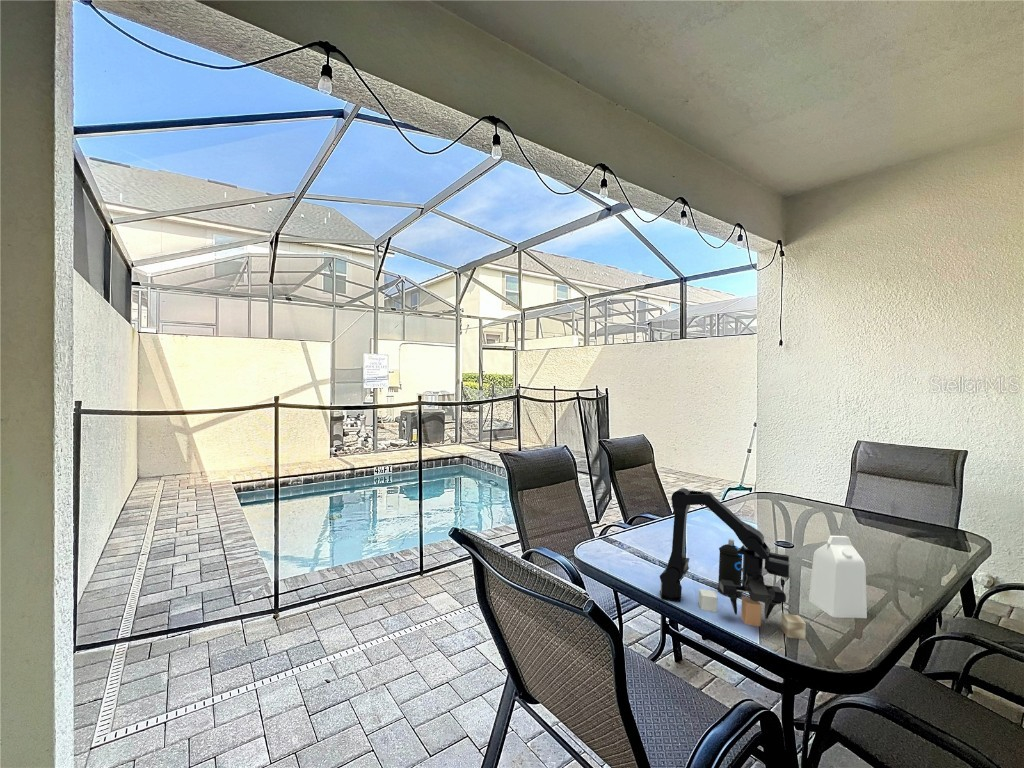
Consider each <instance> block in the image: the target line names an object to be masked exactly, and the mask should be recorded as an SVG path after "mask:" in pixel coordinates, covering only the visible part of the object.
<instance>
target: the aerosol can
mask: <svg viewBox="0 0 1024 768" xmlns="http://www.w3.org/2000/svg"><path fill="white" fill-rule="evenodd" d="M739 548H740V547H738V546H736V545H735V539H733V538H728V543H727V544H723V545H721V546H720V547H719V548H718V550H719V558H718V561H719V562H718V586H717V592H718V593H720V594H722V595H723V596H726V597H728V596H727V595H725V594H723V592H722V591H721V589H720V587H719V582H720V581H721V580H730V581H733V583H734V584H735V585H740V586H742V583H741V580H742V575H743V572H742V568H743V554H738V553H737V550H738V549H739ZM736 596H737V598H740V597H742V592H738V591H737V594H736Z"/></svg>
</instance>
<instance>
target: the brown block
mask: <svg viewBox="0 0 1024 768" xmlns="http://www.w3.org/2000/svg"><path fill="white" fill-rule="evenodd" d="M740 615H741V616H740V618H741V619H742V622H743V623H744V624H745V625H749V626H753V627H754V626H755V627H761V626H762V625H761V624H762V621H761V620H762V604H761V602H759V601H752V600H751V599H750V596H749V597H747V596H741V613H740Z"/></svg>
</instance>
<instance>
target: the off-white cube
mask: <svg viewBox="0 0 1024 768" xmlns="http://www.w3.org/2000/svg"><path fill="white" fill-rule="evenodd" d="M698 605H699V606H700V607H699V608H700V610H701V611H707V612H714V613H717V612H718V595H717V593H716V592H715V590H708V589H701V588H699V589H698Z"/></svg>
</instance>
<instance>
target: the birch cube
mask: <svg viewBox="0 0 1024 768" xmlns="http://www.w3.org/2000/svg"><path fill="white" fill-rule="evenodd" d="M780 618H781V619H780V629H781V631H782V632H783V633H784V634H785V636H786V638H791V639H796V640H797V639H799V640H805V641H806V631H807V630H806V629H807V627H806V625H807V623H806V622H805V621H804V620H803V619H802V617H801V616H800V615H798V614H797V615H796V614H790V613H781V615H780Z"/></svg>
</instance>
